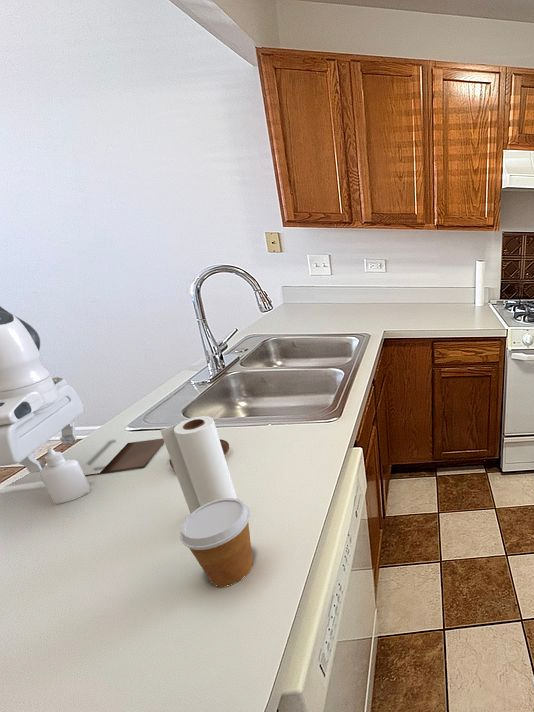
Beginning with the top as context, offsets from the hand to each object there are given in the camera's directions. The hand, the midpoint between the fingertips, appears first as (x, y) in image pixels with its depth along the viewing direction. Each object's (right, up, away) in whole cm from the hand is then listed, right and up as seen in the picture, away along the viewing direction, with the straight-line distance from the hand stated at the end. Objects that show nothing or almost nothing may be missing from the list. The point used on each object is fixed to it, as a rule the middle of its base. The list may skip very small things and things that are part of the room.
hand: (55, 455), depth 80 cm
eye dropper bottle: (0, -10, +4) cm, 11 cm away
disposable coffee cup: (+44, -17, -13) cm, 49 cm away
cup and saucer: (+19, -5, +16) cm, 25 cm away
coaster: (0, -4, +16) cm, 17 cm away
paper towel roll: (+34, -12, -1) cm, 36 cm away
